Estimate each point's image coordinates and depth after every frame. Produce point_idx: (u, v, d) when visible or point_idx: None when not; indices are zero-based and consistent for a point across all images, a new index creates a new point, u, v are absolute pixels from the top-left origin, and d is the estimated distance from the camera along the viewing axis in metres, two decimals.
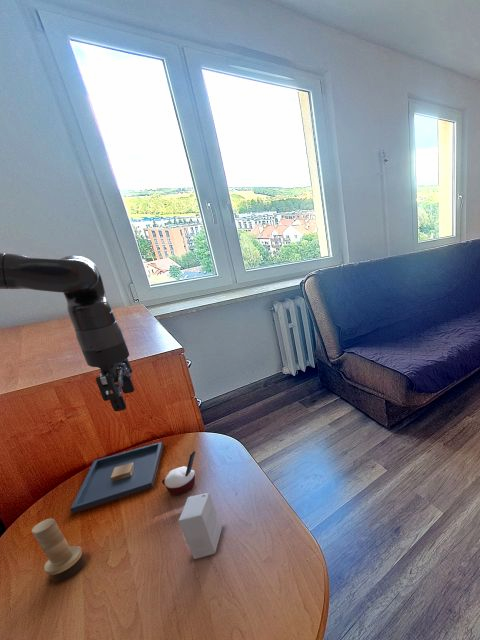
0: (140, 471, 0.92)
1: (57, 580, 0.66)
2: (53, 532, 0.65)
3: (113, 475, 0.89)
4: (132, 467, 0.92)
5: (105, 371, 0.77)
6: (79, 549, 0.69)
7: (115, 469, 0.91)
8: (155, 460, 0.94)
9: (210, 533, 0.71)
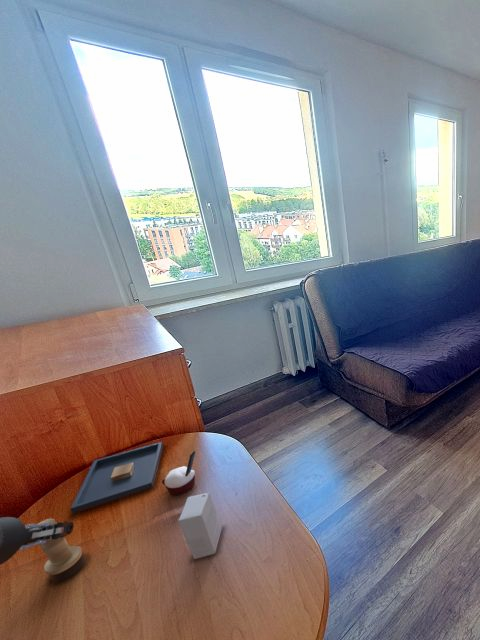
0: (140, 471, 0.92)
1: (57, 580, 0.66)
2: None
3: (113, 475, 0.89)
4: (132, 467, 0.92)
5: None
6: (79, 549, 0.69)
7: (115, 469, 0.91)
8: (155, 460, 0.94)
9: (210, 533, 0.71)
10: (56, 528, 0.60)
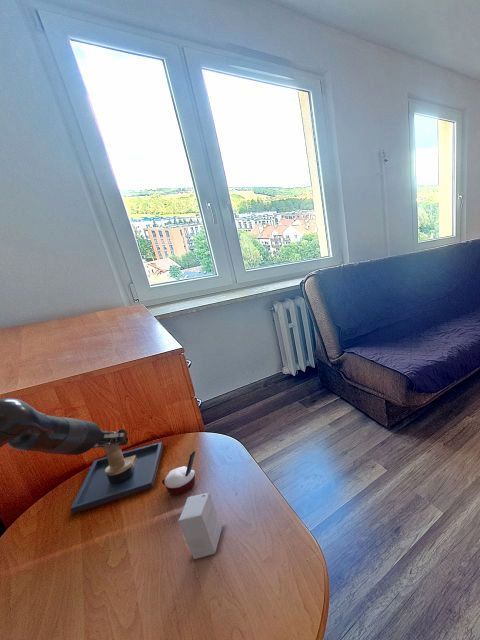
0: (140, 471, 0.92)
1: (114, 481, 0.87)
2: None
3: None
4: (135, 459, 0.95)
5: None
6: (129, 461, 0.91)
7: None
8: (155, 460, 0.94)
9: (210, 533, 0.71)
10: (120, 433, 0.82)
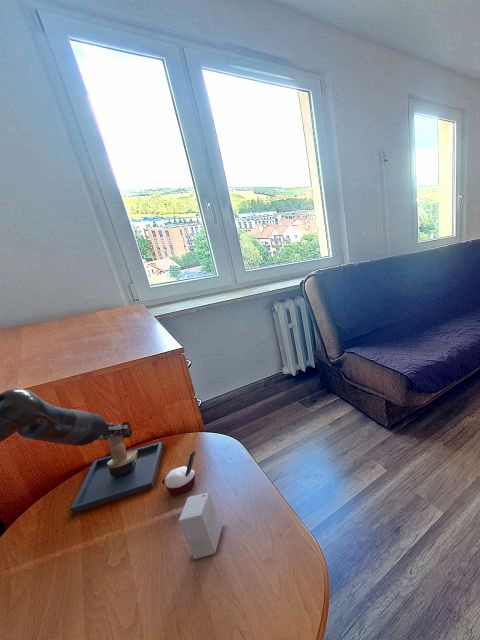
0: (140, 471, 0.92)
1: (115, 474, 0.89)
2: None
3: None
4: (136, 454, 0.97)
5: None
6: (131, 454, 0.93)
7: None
8: (155, 460, 0.94)
9: (210, 533, 0.71)
10: (124, 425, 0.85)
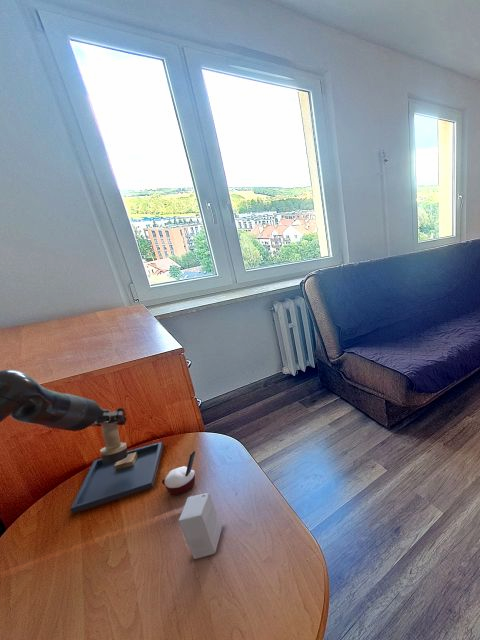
0: (140, 471, 0.92)
1: (108, 462, 0.88)
2: None
3: (117, 463, 0.93)
4: (135, 456, 0.96)
5: None
6: (125, 443, 0.92)
7: None
8: (155, 460, 0.94)
9: (210, 533, 0.71)
10: (119, 411, 0.84)
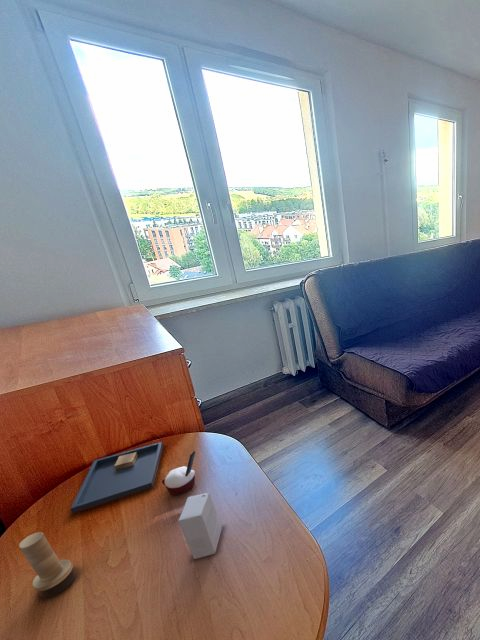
0: (140, 471, 0.92)
1: (48, 596, 0.64)
2: (43, 546, 0.62)
3: (117, 463, 0.93)
4: (135, 456, 0.96)
5: None
6: (69, 562, 0.67)
7: (119, 458, 0.95)
8: (155, 460, 0.94)
9: (210, 533, 0.71)
10: None
